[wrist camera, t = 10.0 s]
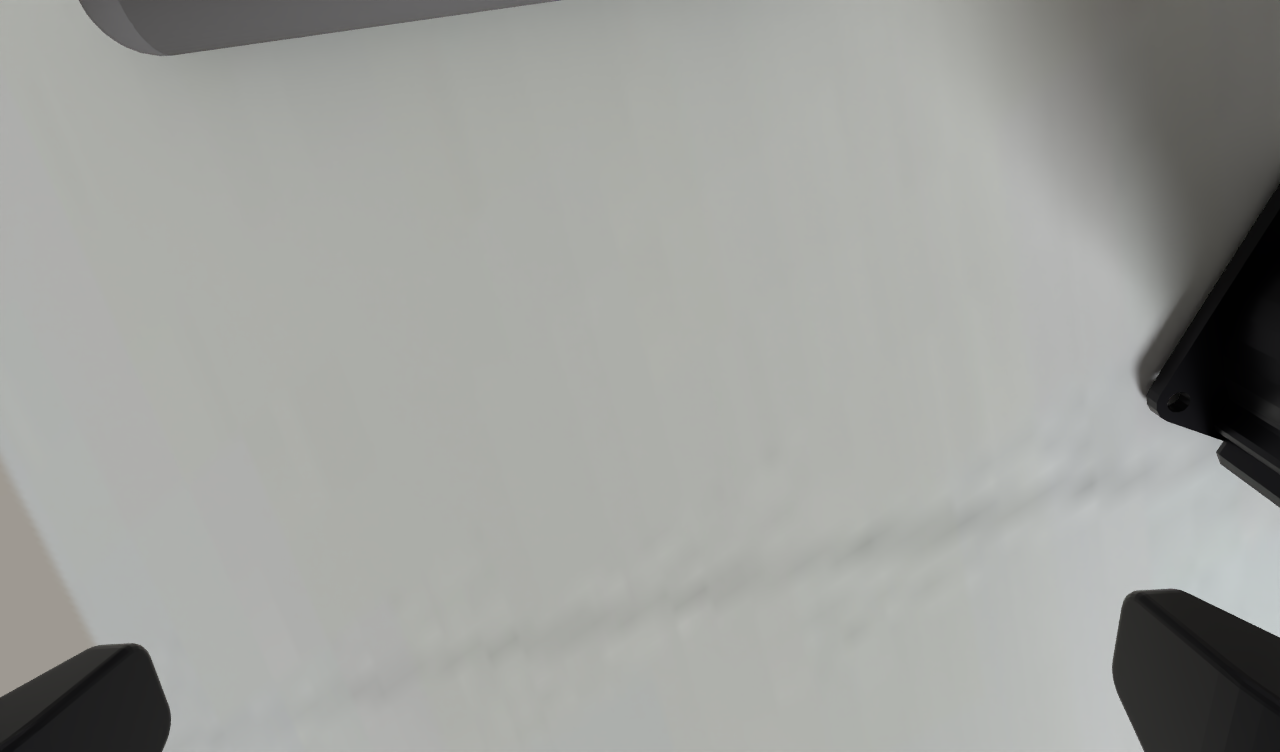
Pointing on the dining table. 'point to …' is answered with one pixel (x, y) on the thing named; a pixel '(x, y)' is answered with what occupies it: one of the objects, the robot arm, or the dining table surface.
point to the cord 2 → (258, 19)
